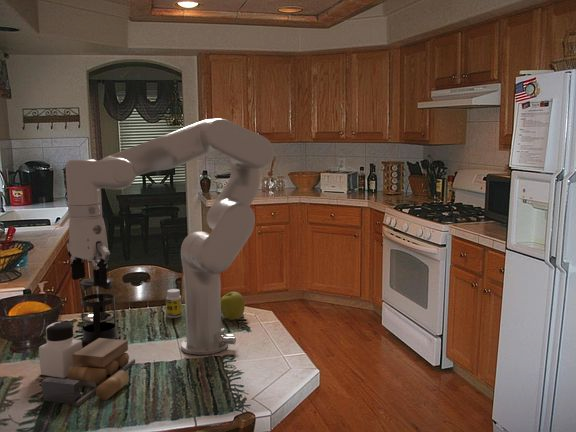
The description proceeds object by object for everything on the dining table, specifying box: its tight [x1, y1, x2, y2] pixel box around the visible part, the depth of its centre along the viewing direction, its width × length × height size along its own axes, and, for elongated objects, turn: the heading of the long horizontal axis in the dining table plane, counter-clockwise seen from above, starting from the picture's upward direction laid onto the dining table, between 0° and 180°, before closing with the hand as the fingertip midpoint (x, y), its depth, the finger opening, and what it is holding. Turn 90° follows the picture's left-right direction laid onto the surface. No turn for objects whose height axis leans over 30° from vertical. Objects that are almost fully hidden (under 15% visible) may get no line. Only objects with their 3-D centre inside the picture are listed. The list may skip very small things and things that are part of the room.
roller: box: [95, 370, 130, 401], centre depth 125 cm, size 8×4×4 cm
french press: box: [79, 260, 118, 345], centre depth 158 cm, size 12×9×23 cm
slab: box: [73, 338, 129, 367], centre depth 136 cm, size 8×11×2 cm
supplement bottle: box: [165, 288, 183, 319], centre depth 178 cm, size 5×5×8 cm
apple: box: [221, 289, 246, 321], centre depth 176 cm, size 8×8×10 cm
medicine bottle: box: [38, 321, 83, 379], centre depth 136 cm, size 7×7×12 cm
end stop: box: [41, 376, 81, 406], centre depth 121 cm, size 8×2×4 cm, turn 76°
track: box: [37, 352, 136, 407], centre depth 131 cm, size 10×24×4 cm, turn 166°
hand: (89, 281), depth 134 cm, fingers open, 9 cm apart
